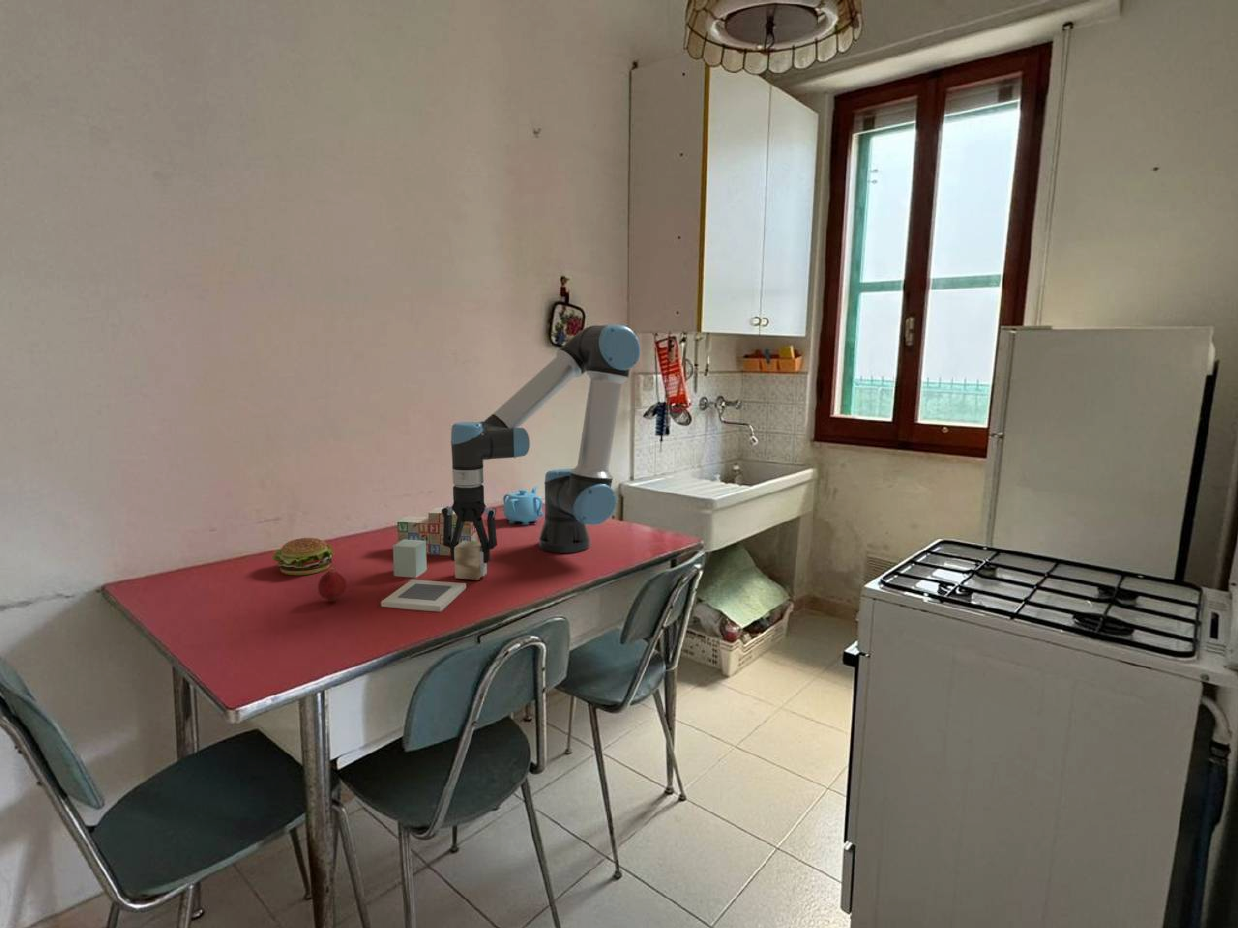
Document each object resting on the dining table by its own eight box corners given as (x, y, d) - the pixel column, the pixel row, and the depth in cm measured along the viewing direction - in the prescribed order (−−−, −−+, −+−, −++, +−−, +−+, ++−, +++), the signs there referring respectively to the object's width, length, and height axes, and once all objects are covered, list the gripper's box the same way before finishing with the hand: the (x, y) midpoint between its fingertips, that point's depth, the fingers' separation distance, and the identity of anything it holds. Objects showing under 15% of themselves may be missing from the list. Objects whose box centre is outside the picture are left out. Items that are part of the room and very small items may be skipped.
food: (264, 569, 173) (262, 539, 172) (319, 557, 184) (317, 529, 182) (286, 582, 164) (284, 551, 163) (342, 569, 174) (340, 540, 173)
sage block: (426, 570, 175) (425, 540, 174) (416, 577, 169) (415, 547, 168) (405, 568, 176) (404, 539, 175) (394, 576, 170) (392, 545, 169)
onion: (329, 608, 148) (327, 574, 147) (313, 603, 151) (311, 569, 150) (352, 600, 153) (350, 567, 152) (336, 595, 156) (334, 562, 155)
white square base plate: (466, 588, 163) (466, 582, 162) (440, 611, 148) (440, 605, 148) (411, 583, 165) (411, 578, 164) (381, 606, 150) (381, 600, 150)
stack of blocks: (397, 553, 189) (396, 510, 187) (407, 546, 195) (405, 505, 193) (471, 557, 187) (470, 514, 185) (478, 550, 193) (477, 508, 191)
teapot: (506, 528, 218) (507, 495, 215) (500, 516, 231) (500, 484, 229) (545, 526, 222) (545, 494, 220) (536, 514, 235) (536, 483, 233)
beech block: (486, 571, 173) (485, 541, 171) (478, 579, 167) (477, 548, 166) (464, 570, 174) (463, 540, 172) (455, 578, 168) (454, 547, 167)
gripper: (425, 486, 164) (429, 576, 168) (500, 489, 161) (502, 581, 165) (438, 480, 171) (441, 566, 175) (509, 483, 168) (511, 571, 172)
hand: (470, 573), depth 170 cm, fingers closed on beech block, 6 cm apart
